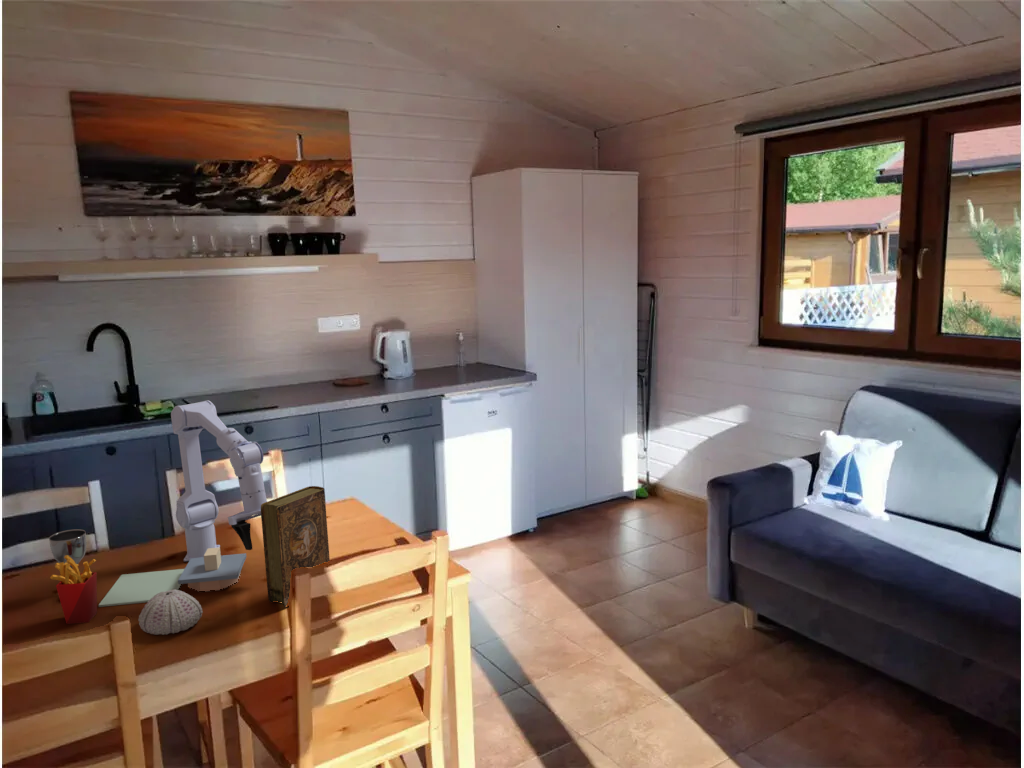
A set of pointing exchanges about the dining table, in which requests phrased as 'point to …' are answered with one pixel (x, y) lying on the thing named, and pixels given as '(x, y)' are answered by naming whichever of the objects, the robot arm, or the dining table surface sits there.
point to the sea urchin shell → (170, 613)
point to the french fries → (77, 591)
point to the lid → (212, 567)
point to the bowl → (212, 584)
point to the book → (293, 537)
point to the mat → (141, 587)
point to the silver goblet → (68, 545)
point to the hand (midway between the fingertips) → (262, 544)
